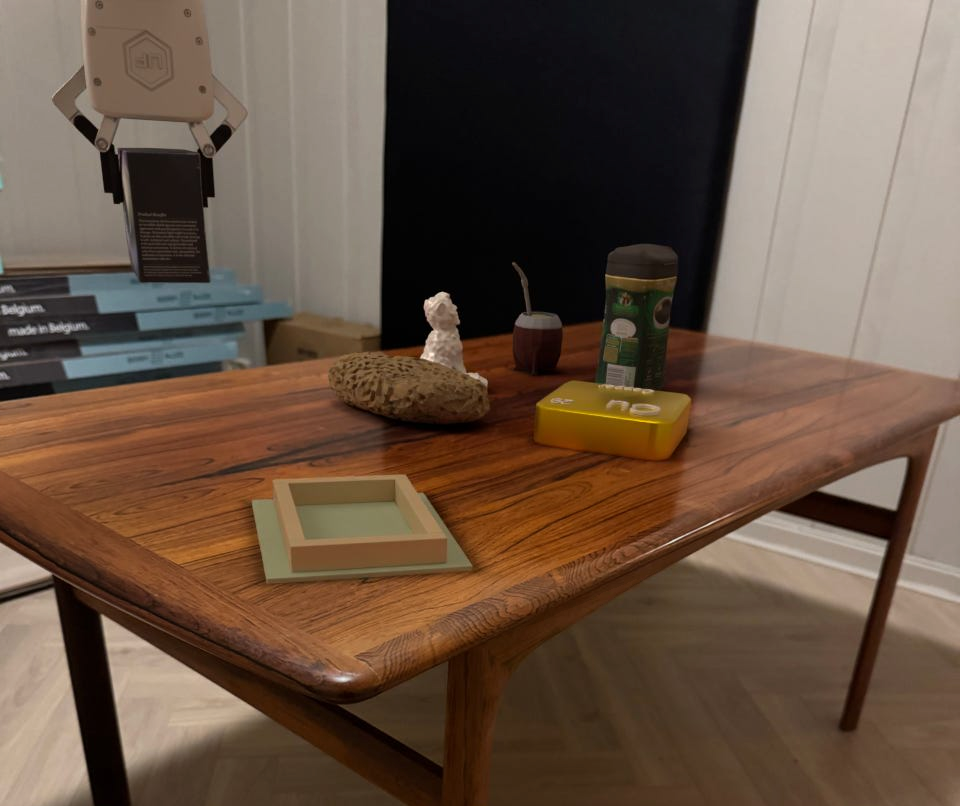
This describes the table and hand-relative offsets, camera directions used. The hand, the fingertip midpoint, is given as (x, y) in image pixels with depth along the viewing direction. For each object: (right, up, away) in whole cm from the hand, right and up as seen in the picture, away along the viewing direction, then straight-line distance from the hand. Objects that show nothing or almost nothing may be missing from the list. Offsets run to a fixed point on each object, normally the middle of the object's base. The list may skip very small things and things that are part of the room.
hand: (161, 203), depth 85 cm
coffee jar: (+48, -6, +43) cm, 65 cm away
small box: (0, -6, +3) cm, 6 cm away
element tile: (+43, -17, +22) cm, 51 cm away
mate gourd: (+36, -1, +51) cm, 63 cm away
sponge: (+20, -13, +26) cm, 35 cm away
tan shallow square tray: (+18, -31, -9) cm, 37 cm away
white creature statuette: (+24, -6, +40) cm, 47 cm away
